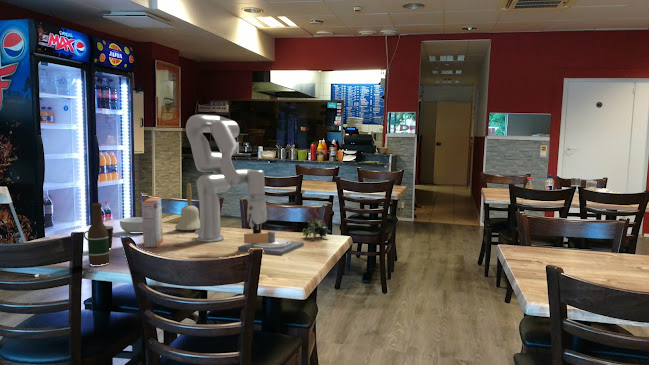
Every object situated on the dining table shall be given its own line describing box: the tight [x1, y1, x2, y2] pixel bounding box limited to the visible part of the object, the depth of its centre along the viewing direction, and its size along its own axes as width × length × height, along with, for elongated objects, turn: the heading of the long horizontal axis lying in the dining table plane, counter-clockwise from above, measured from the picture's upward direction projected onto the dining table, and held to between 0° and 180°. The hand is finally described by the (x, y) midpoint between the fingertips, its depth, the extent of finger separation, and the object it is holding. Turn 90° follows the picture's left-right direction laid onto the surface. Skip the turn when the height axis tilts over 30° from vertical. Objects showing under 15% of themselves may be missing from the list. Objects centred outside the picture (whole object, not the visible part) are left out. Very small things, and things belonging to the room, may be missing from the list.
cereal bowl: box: [119, 216, 143, 233], centre depth 257 cm, size 17×17×7 cm
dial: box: [243, 230, 287, 247], centre depth 222 cm, size 19×14×5 cm
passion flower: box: [301, 219, 332, 240], centre depth 243 cm, size 11×11×12 cm
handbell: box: [174, 183, 200, 231], centre depth 263 cm, size 15×15×25 cm
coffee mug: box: [83, 225, 114, 248], centre depth 218 cm, size 12×9×10 cm
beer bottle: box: [87, 202, 110, 265], centre depth 193 cm, size 8×8×24 cm
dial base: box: [237, 239, 305, 256], centre depth 222 cm, size 22×20×2 cm
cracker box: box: [141, 197, 164, 248], centre depth 229 cm, size 14×6×21 cm, turn 6°
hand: (257, 238), depth 224 cm, fingers closed
